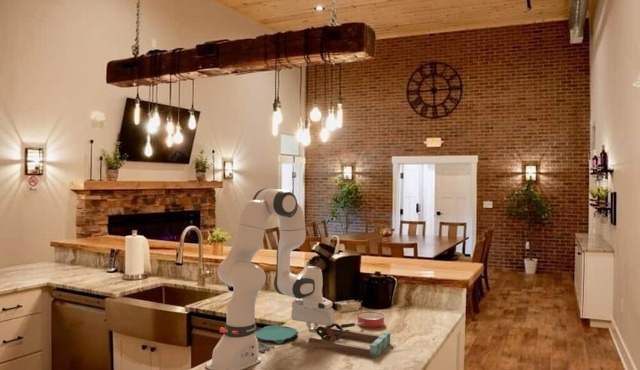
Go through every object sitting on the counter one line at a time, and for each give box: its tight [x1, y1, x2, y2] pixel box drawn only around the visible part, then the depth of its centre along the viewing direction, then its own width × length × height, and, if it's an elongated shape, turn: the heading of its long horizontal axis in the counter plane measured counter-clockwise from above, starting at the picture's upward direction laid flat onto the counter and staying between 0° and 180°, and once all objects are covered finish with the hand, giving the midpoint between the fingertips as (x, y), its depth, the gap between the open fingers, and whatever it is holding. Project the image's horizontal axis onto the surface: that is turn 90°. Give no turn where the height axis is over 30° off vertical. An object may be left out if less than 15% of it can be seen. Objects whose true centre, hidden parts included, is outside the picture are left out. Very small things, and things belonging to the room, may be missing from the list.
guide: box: [307, 327, 391, 359], centre depth 215 cm, size 19×30×5 cm, turn 64°
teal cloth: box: [255, 324, 299, 354], centre depth 221 cm, size 20×30×2 cm, turn 150°
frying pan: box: [340, 311, 385, 329], centre depth 236 cm, size 32×13×6 cm, turn 150°
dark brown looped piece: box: [315, 322, 344, 342], centre depth 221 cm, size 12×10×8 cm
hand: (312, 332), depth 223 cm, fingers closed
